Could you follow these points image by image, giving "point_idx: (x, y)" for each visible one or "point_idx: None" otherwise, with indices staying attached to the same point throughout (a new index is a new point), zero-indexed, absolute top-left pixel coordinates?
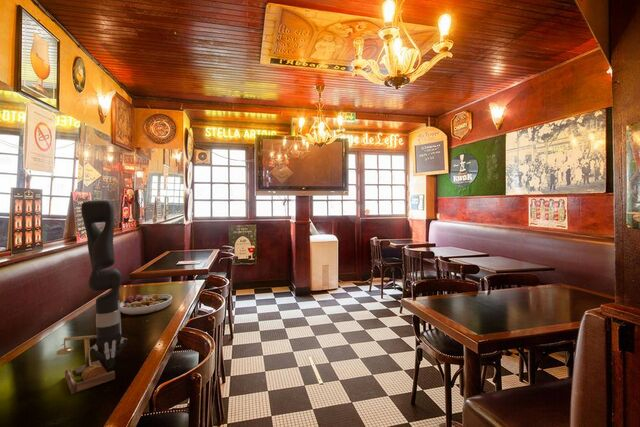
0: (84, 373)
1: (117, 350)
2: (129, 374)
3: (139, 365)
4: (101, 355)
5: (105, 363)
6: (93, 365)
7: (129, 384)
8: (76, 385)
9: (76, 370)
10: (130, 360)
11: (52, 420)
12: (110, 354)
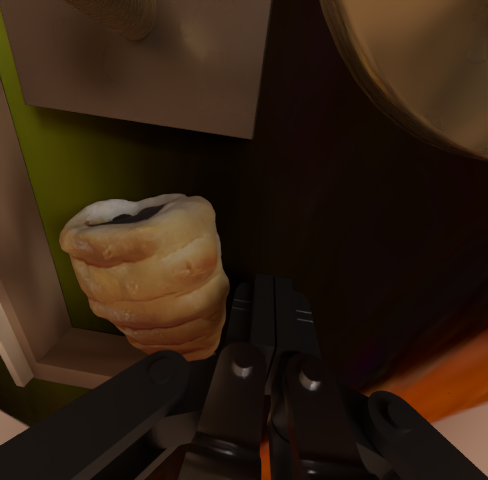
0: (75, 272)
1: (388, 477)
2: None
3: (416, 353)
4: (138, 475)
5: (233, 302)
6: (132, 246)
7: (260, 442)
8: (46, 376)
9: (7, 5)
10: (475, 223)
11: (26, 423)
12: (284, 403)
